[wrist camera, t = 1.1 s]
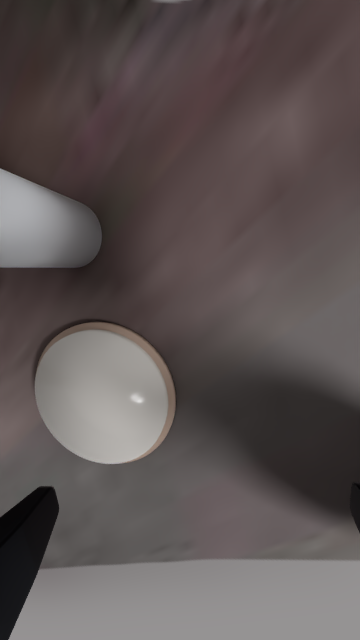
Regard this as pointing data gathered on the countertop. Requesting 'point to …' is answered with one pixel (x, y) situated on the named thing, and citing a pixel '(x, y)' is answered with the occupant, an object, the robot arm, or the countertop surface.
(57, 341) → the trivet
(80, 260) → the grey-topped white cylinder
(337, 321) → the countertop surface
